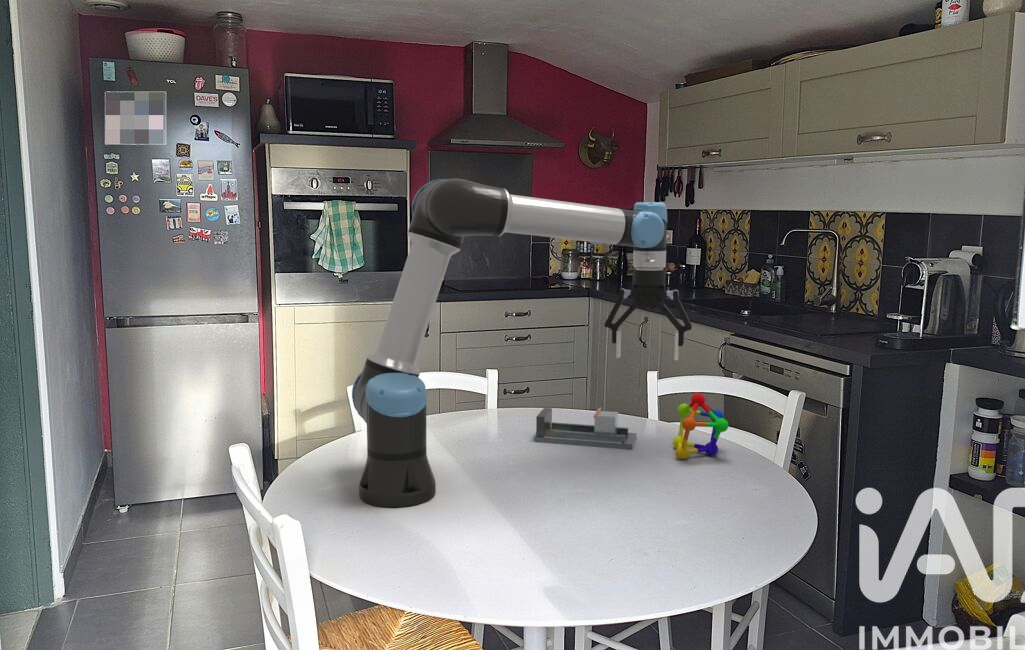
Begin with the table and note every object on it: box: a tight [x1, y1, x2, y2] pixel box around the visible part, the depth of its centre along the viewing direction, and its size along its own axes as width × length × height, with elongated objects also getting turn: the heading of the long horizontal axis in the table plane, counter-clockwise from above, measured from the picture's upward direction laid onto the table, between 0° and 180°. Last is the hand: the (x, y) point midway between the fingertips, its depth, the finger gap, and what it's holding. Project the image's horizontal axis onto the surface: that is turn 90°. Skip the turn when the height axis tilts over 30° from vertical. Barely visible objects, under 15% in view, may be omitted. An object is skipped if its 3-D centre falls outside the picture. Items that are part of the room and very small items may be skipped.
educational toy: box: [672, 392, 729, 460], centre depth 190 cm, size 16×13×15 cm
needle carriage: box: [592, 406, 619, 435], centre depth 200 cm, size 5×9×6 cm, turn 166°
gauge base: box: [533, 407, 638, 450], centre depth 201 cm, size 24×10×6 cm, turn 76°
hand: (647, 358), depth 194 cm, fingers open, 13 cm apart
